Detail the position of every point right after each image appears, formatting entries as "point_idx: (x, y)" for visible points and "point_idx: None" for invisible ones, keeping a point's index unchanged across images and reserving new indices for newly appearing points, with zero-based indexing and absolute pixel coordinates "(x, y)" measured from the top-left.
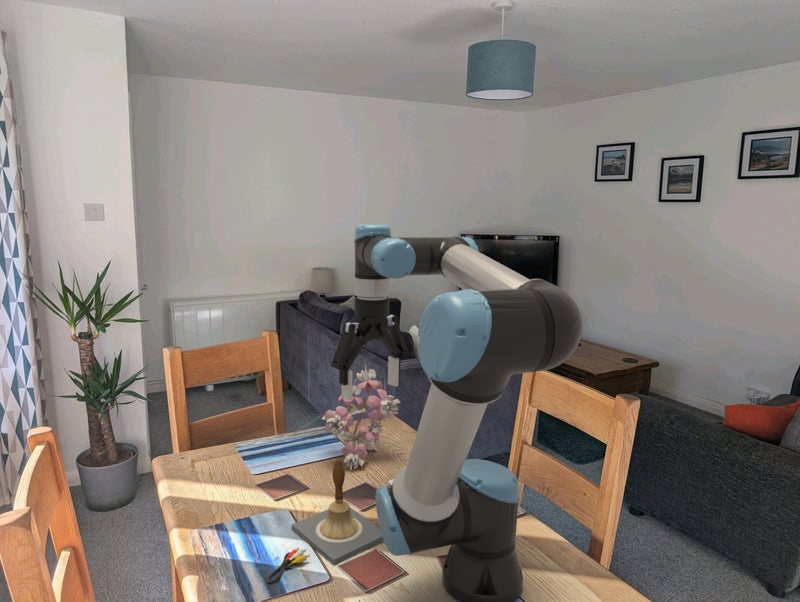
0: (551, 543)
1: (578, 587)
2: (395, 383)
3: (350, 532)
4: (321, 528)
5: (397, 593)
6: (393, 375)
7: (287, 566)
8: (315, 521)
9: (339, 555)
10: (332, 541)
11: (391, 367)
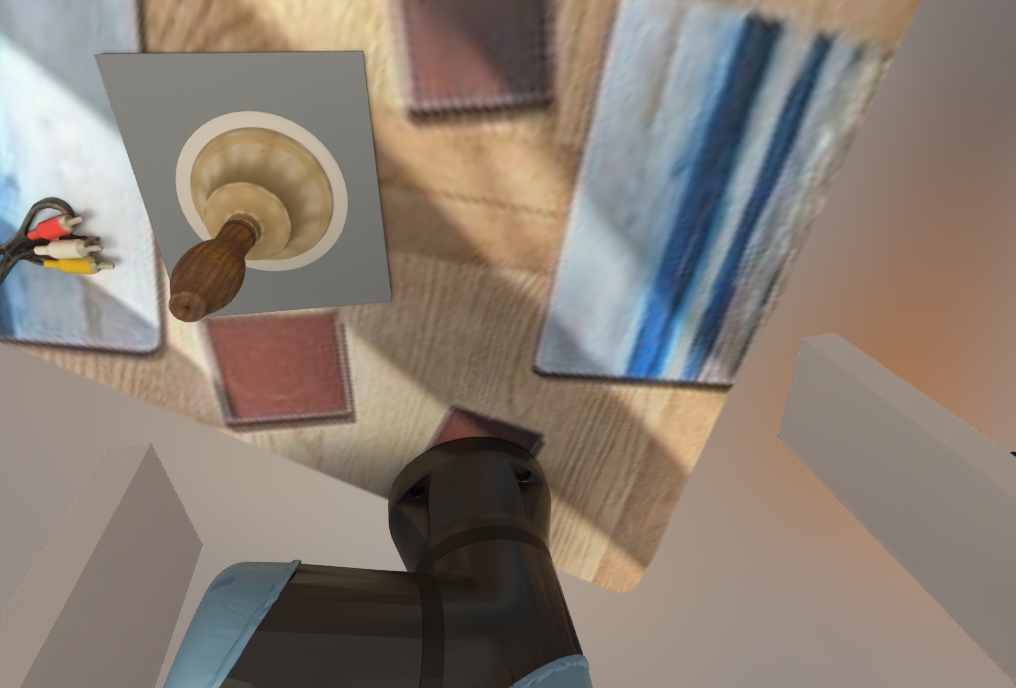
0: (670, 478)
1: (588, 564)
2: (799, 451)
3: (279, 258)
4: (193, 178)
5: (294, 456)
6: (865, 481)
7: (30, 261)
8: (199, 100)
9: None
10: None
11: (960, 525)
